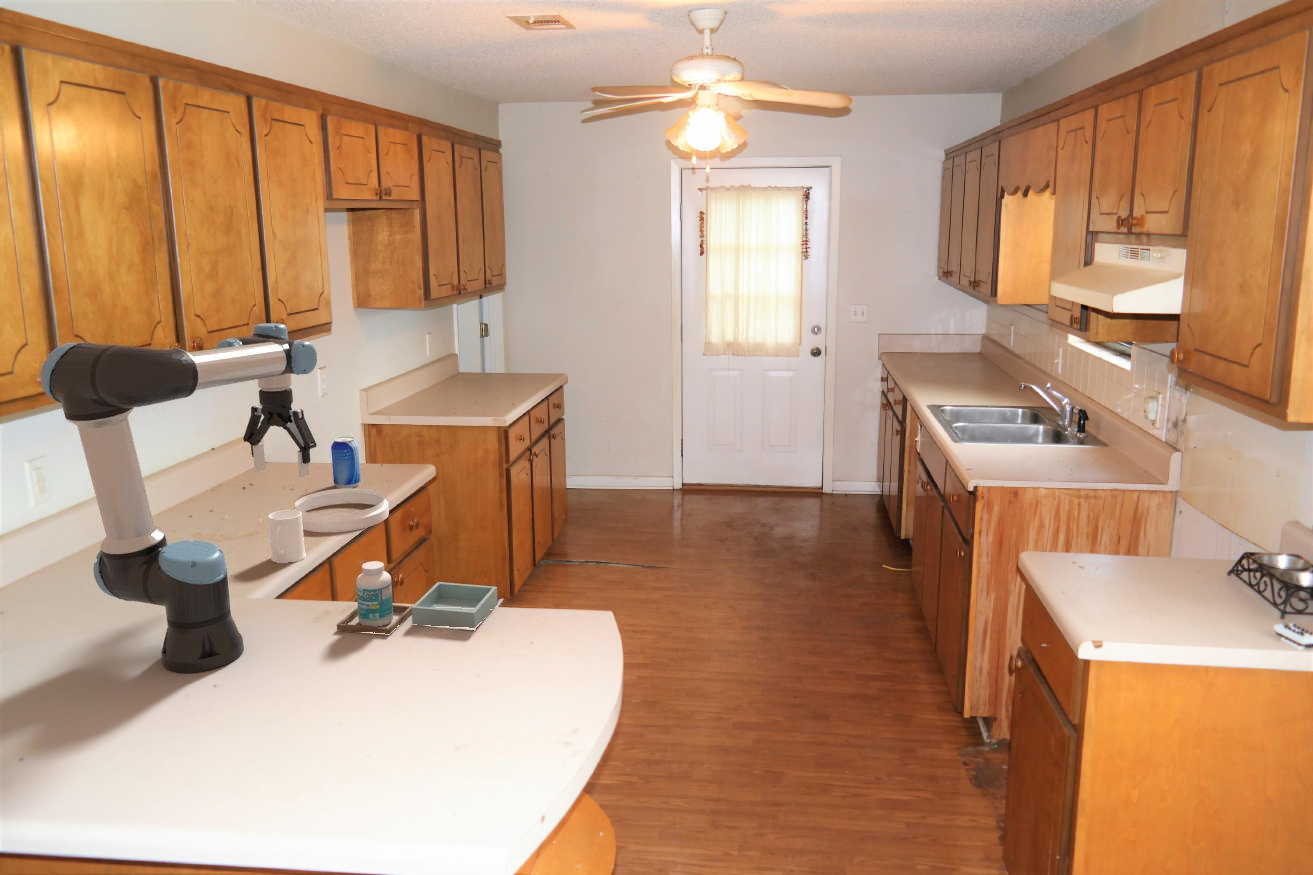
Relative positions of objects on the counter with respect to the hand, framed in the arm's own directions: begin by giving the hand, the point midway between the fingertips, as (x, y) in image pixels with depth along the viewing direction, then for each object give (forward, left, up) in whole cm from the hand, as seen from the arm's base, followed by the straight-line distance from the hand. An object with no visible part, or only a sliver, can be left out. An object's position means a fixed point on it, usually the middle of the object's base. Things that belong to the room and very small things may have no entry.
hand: (282, 473), depth 228 cm
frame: (-23, -34, -26) cm, 49 cm away
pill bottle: (-23, -34, -26) cm, 49 cm away
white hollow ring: (+42, +9, -27) cm, 51 cm away
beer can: (+72, +23, -26) cm, 80 cm away
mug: (+7, +6, -26) cm, 28 cm away
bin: (-16, -50, -26) cm, 59 cm away
